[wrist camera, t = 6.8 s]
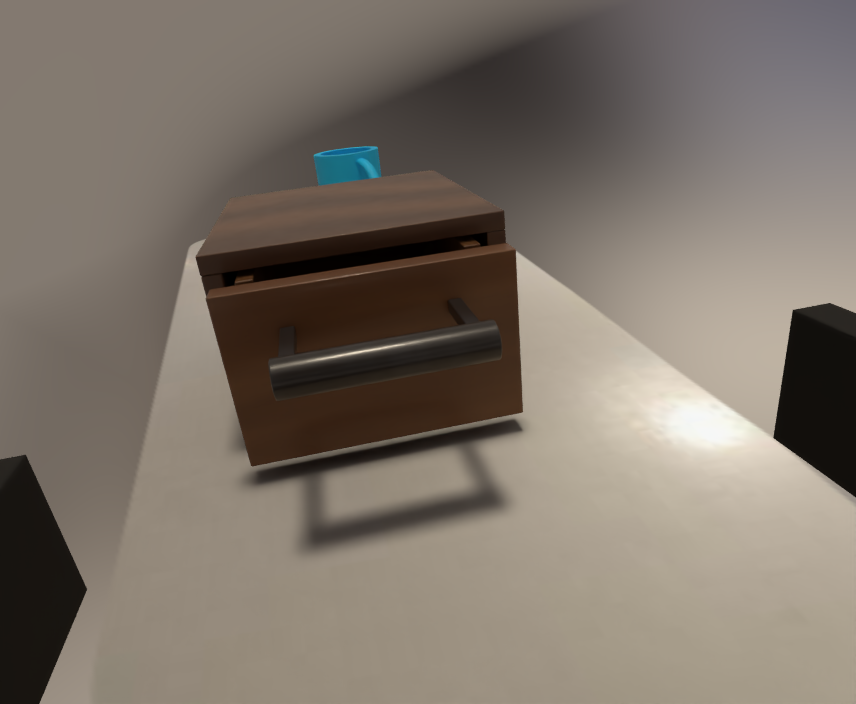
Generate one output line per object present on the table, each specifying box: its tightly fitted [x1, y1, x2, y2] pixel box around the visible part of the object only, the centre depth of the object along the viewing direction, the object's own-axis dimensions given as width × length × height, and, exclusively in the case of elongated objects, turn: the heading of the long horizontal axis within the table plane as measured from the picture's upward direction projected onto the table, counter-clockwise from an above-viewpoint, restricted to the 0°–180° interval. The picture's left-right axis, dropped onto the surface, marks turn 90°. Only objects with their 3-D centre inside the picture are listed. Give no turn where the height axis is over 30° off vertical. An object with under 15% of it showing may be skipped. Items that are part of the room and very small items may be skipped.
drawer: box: [206, 235, 523, 466], centre depth 30 cm, size 20×13×8 cm, turn 11°
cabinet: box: [196, 170, 506, 297], centre depth 36 cm, size 16×14×10 cm
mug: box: [314, 146, 381, 186], centre depth 76 cm, size 12×8×8 cm
